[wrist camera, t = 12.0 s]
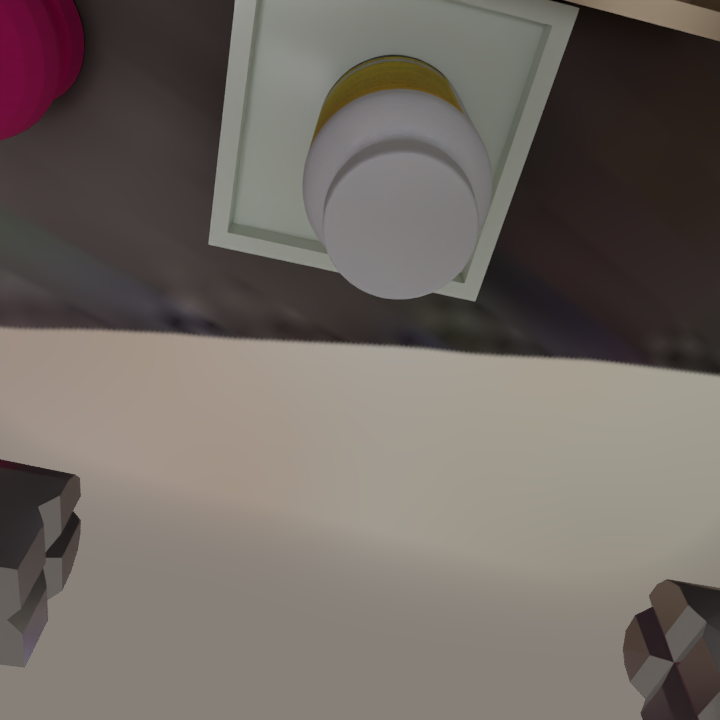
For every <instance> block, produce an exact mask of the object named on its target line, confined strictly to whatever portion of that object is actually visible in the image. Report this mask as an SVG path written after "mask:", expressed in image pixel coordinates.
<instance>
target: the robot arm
mask: <svg viewBox="0 0 720 720" xmlns="http://www.w3.org/2000/svg"><path fill="white" fill-rule="evenodd" d="M80 496H81V493H80V478H79V477H78V476H76V475H75V474H70V473H65V472H60V471H54V470H50V469H45V468H40V467H35V466H30V465H25V464H20V463H15V462H10V461H5V460H1V459H0V664H1V665H10V666H18V667H25V666H26V663H27V662H28V660H29V658H30V656H31V654H32V652H33V649H34V647H35V645H36V643H37V641H38V639H39V637H40V635H41V633H42V631H43V629H44V627H45V625H46V623H47V621H48V607H47V600H48V599H50V598H51V597H53V596H54V595H56V594H58V593H59V592H61V591H62V590H63V588H64V585H65V583H66V581H67V579H68V577H69V575H70V573H71V570H72V566H73V563H74V560H75V557H76V554H77V551H78V545H79V539H80V526H81V520H80V519H79V518H78V516H77V515H76V514H75V513H74V512H73V510H74V508H75V506H76V504H77V502H78V500H79V498H80ZM649 597H650V601H651V605H652V607H651V608H649V609H647V610H645V611H643V612H641V613H639V614H637V615H635V616H634V618H633V620H632V621H631V623H630V625H629V626H628V628H627V630H626V633H625V639H624V646H623V654H624V663H625V667H626V671H627V674H628V677H629V680H630V682H631V684H632V685H633V686H634V687H635V688H636V689H637V690H638V691H639V692H640V694H641V695H642V696H643V697H644V698H645V699H646V700H645V702H644V705H643V708H642V710H641V716H642V719H643V720H720V588H716V587H711V586H704V585H698V584H692V583H686V582H680V581H674V580H668V579H667V580H665V581H663V582H661V583H659V584H657V585H656V587H655V588H654V589H653V591H652V592H651V594H650V595H649Z"/></svg>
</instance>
